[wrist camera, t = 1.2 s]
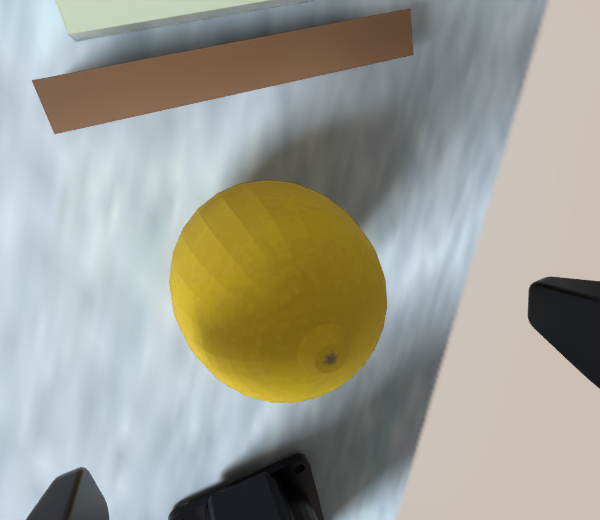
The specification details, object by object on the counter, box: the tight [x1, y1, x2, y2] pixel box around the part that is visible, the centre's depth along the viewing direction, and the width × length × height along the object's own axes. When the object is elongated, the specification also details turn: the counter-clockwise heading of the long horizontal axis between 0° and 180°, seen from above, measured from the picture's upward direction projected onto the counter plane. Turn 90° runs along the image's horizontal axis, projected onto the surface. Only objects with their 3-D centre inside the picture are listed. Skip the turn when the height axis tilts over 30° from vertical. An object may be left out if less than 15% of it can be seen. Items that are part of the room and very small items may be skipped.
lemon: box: [169, 180, 387, 403], centre depth 12 cm, size 6×6×8 cm
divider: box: [32, 9, 413, 134], centre depth 12 cm, size 1×10×2 cm, turn 102°
